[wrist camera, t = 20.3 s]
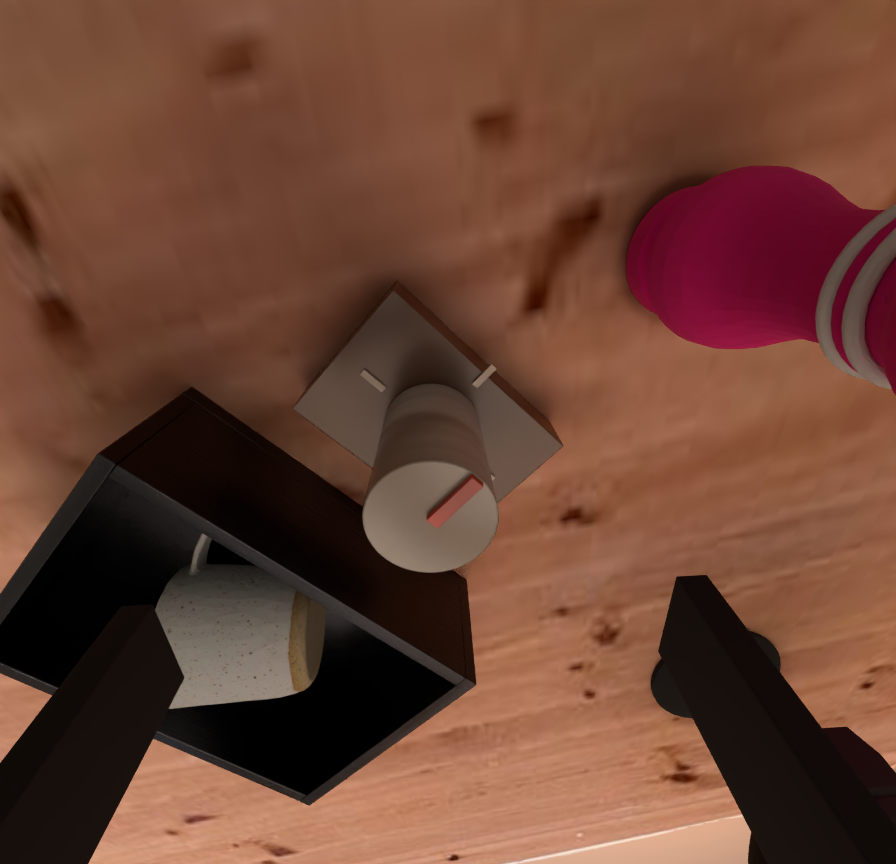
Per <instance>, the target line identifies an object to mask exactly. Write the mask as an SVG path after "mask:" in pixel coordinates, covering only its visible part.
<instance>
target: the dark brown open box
mask: <svg viewBox="0 0 896 864" xmlns="http://www.w3.org/2000/svg"><path fill="white" fill-rule="evenodd" d="M362 513H363V507H361V506H360V505H358V504H357V503H356V502H354V501H353V500H351V499H350V498H348V497H347V496H346V495H344V494H343V493H341V492H340V491H339V490H337V489H336V488H334V487H333V486H331V485H330V484H329V483H327V482H326V481H324V480H323V479H321V478H320V477H319V476H317V475H316V474H314V473H313V472H312V471H310V470H309V469H307V468H306V467H304V466H303V465H302V464H300V463H299V462H297V461H296V460H294V459H293V458H292V457H290V456H289V455H287V454H286V453H285V452H283V451H282V450H280V449H279V448H277V447H276V446H275V445H273V444H272V443H270V442H269V441H268V440H266V439H265V438H263V437H262V436H260V435H259V434H258V433H256V432H255V431H253V430H252V429H250V428H249V427H248V426H246V425H245V424H243V423H242V422H241V421H239V420H238V419H236V418H235V417H233V416H232V415H231V414H229V413H228V412H226V411H225V410H224V409H222V408H221V407H219V406H218V405H216V404H215V403H214V402H212V401H211V400H209V399H208V398H206V397H205V396H204V395H202V394H201V393H199V392H198V391H197V390H195V389H194V388H192V387H190V388H189V389H188V390H186V391H185V392H183V393H182V394H181V395H179V396H178V397H177V398H175V399H174V400H172V401H171V402H170V403H168V404H167V405H165V406H164V407H163V408H161V409H160V410H158V411H157V412H156V413H154V414H153V415H151V416H150V417H149V418H147V419H146V420H144V421H143V422H142V423H140V424H139V425H137V426H136V427H135V428H133V429H132V430H130V431H129V432H128V433H126V434H125V435H123V436H122V437H121V438H119V439H118V440H116V441H115V442H113V443H112V444H111V445H109V446H108V447H106V448H105V449H104V450H102V451H101V452H99V453H98V454H97V455H96V457H95V458H94V460H93V461H92V463H91V464H90V466H89V467H88V468H87V470H86V471H85V473H84V474H83V476H82V477H81V478H80V480H79V481H78V483H77V484H76V486H75V487H74V489H73V490H72V491H71V493H70V494H69V496H68V497H67V499H66V500H65V501H64V503H63V504H62V506H61V507H60V509H59V510H58V512H57V513H56V514H55V516H54V517H53V519H52V520H51V522H50V523H49V524H48V526H47V527H46V529H45V530H44V532H43V533H42V534H41V536H40V537H39V539H38V540H37V542H36V543H35V545H34V546H33V547H32V549H31V550H30V552H29V553H28V555H27V556H26V557H25V559H24V560H23V562H22V563H21V565H20V566H19V568H18V569H17V570H16V572H15V573H14V575H13V576H12V578H11V579H10V580H9V582H8V583H7V585H6V586H5V588H4V589H3V591H2V592H1V593H0V673H1V674H3V675H6V676H8V677H10V678H13V679H15V680H17V681H20V682H22V683H24V684H27V685H29V686H31V687H34V688H36V689H38V690H41V691H43V692H45V693H48V694H50V695H53V694H54V693H55V692H56V690H57V689H58V688H59V686H60V685H61V684H62V682H63V681H64V680H65V679H66V677H67V676H68V675H69V673H70V672H71V671H72V669H73V668H74V667H75V666H76V664H77V663H78V662H79V660H80V659H81V658H82V657H83V655H84V654H85V653H86V651H87V650H88V649H89V647H90V646H91V645H92V644H93V642H94V641H95V640H96V638H97V637H98V636H99V634H100V633H101V632H102V631H103V629H104V628H105V627H106V625H107V624H108V623H109V622H110V620H111V619H112V618H113V616H114V615H115V614H116V612H117V611H118V610H119V609H120V607H121V606H133V605H152V604H153V606H154V609H156V606H157V604H158V601H159V599H160V597H161V595H162V593H163V591H164V589H165V587H166V585H167V583H168V582H169V581H170V580H171V578H172V577H173V576H174V575H175V574H176V573H177V572H178V571H179V570H180V569H182V568H184V567H185V566H188V565H191V563H192V557H193V553H194V550H195V547H196V545H197V543H198V540H199V538H200V536H201V534H204V535H206V536H207V537H209V538H211V539H212V540H211V543H210V546H209V550H208V554H207V559H206V560H207V564H232V565H252V566H258V567H259V568H261V569H263V570H264V571H266V572H268V573H269V574H271V575H273V576H274V577H276V578H278V579H279V580H281V581H283V582H284V583H286V584H288V585H289V586H291V587H293V588H294V589H296V590H298V591H299V592H301V593H303V594H304V595H306V596H308V597H309V598H311V599H313V600H314V601H316V602H318V603H319V604H321V605H323V606H324V607H325V634H324V644H323V652H322V657H321V662H320V666H319V669H318V673H317V675H316V678H315V679H314V681H313V682H312V683H311V685H310V686H309V687H308V688H307V689H305V690H304V691H301V692H298V693H295V694H292V695H288V696H284V697H280V698H272V699H263V700H251V701H241V702H232V703H224V704H213V705H200V706H191V707H182V708H174V709H168V711H167V713H166V715H165V717H164V719H163V720H162V722H161V724H160V726H159V728H158V730H157V732H156V734H155V736H154V738H153V739H155V740H158V741H160V742H162V743H165V744H167V745H169V746H172V747H174V748H176V749H179V750H181V751H184V752H186V753H188V754H191V755H193V756H195V757H198V758H200V759H202V760H205V761H207V762H209V763H212V764H214V765H216V766H219V767H221V768H223V769H226V770H228V771H230V772H233V773H235V774H237V775H240V776H242V777H244V778H247V779H249V780H251V781H254V782H256V783H258V784H261V785H263V786H265V787H268V788H270V789H272V790H275V791H277V792H279V793H282V794H284V795H286V796H289V797H291V798H294V799H296V800H298V801H299V800H300V802H302V803H304V804H307V805H311V804H312V803H314V802H315V801H316V800H318V799H319V798H321V797H322V796H323V795H325V794H326V793H327V792H329V791H330V790H332V789H333V788H334V787H336V786H337V785H339V784H340V783H341V782H343V781H344V780H345V779H347V778H348V777H350V776H351V775H352V774H354V773H355V772H357V771H358V770H359V769H361V768H362V767H363V766H365V765H366V764H368V763H369V762H370V761H372V760H373V759H375V758H376V757H377V756H379V755H380V754H381V753H383V752H384V751H386V750H387V749H388V748H390V747H391V746H393V745H394V744H395V743H397V742H398V741H399V740H401V739H402V738H404V737H405V736H406V735H408V734H409V733H411V732H412V731H413V730H415V729H416V728H417V727H419V726H420V725H422V724H423V723H424V722H426V721H427V720H429V719H430V718H431V717H433V716H434V715H435V714H437V713H438V712H440V711H441V710H442V709H444V708H445V707H447V706H448V705H449V704H451V703H452V702H453V701H455V700H456V699H458V698H459V697H460V696H462V695H463V694H465V693H466V692H467V691H469V690H470V689H471V688H473V687H474V686H476V676H475V665H474V654H473V643H472V632H471V622H470V611H469V600H468V590H467V581H466V580H465V579H463V578H462V577H461V576H459V575H458V574H456V573H455V572H454V571H452V570H448V571H443V572H427V573H426V572H417V571H412V570H408V569H405V568H402V567H400V566H397V565H395V564H393V563H392V562H390V561H388V560H387V559H385V558H384V557H383V556H381V555H380V554H379V553H378V552H377V551H376V550H375V548H374V547H373V546H372V544H371V543H370V541H369V539H368V538H367V535H366V533H365V530H364V526H363V519H362Z"/></svg>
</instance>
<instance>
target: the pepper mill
mask: <svg viewBox="0 0 896 864" xmlns="http://www.w3.org/2000/svg"><path fill="white" fill-rule="evenodd" d="M626 273H627V279H628V283H629V286H630V288H631V291H632V293H633V294H634V296H635V297H636V299H637V300H638V301H639V303H640V304H641V305H643V306H644V307H645V308H646V309H648V310H649V311H651V312H653V313H655V314H657V315H658V317H659V319H660V320H661V321H662V322H663V323H664V324H665V325H666V326H667V327H668V328H669V329H670V330H671V331H672V332H674V333H675V334H676V335H678V336H680V337H682V338H684V339H686V340H688V341H691V342H694V343H697V344H701V345H704V346H708V347H712V348H718V349H746V348H757V347H762V346H766V345H771V344H775V343H780V342H784V341H790V340H796V339H804V340H808V341H812V342H816V343H819V344H820V347H821V349H822V351H823V353H824V354H825V356H826V357H827V358H828V360H829V361H830V362H831V363H832V364H833V365H834V366H836V367H837V368H838V369H840V370H841V371H842V372H844V373H846V374H848V375H851V376H854V377H857V378H862V379H866V380H868V381H869V382H871V383H872V384H875V385H878V386H880V387H883V388H886V389H892V390H893V392H894V393H895V395H896V204H894V205H892V206H890V207H889V208H888V209H886V210H867V209H861V208H859V207H857V206H856V205H854V204H853V203H851V202H850V201H848V200H847V199H846V198H845V197H844V196H843V195H841V194H840V193H839V192H838V191H837V190H836V189H835V188H833V187H832V186H831V185H830V184H828V183H826V182H825V181H823V180H821V179H819V178H817V177H815V176H813V175H810V174H807V173H804V172H801V171H798V170H796V169H793V168H790V167H780V166H749V167H742V168H737V169H734V170H731V171H728V172H725V173H722V174H720V175H718V176H715V177H713V178H711V179H710V180H708V181H706V182H705V183H703V184H701V185H700V186H693V187H687V188H684V189H681V190H678V191H676V192H674V193H672V194H670V195H668V196H667V197H665V198H663V199H662V200H661V201H659V202H658V203H657V204H656V205H654V206H653V207H652V208H651V209H650V210H649V211H648V213H647V214H646V215H645V216H644V217H643V219H642V220H641V222H640V223H639V225H638V226H637V228H636V230H635V232H634V234H633V237H632V239H631V242H630V244H629V248H628V253H627V258H626Z"/></svg>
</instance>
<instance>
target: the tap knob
mask: <svg viewBox="0 0 896 864" xmlns="http://www.w3.org/2000/svg"><path fill="white" fill-rule="evenodd" d="M362 519H363V526H364V530H365V533H366V535H367V538H368V539H369V541H370V543H371V544H372V546H373V547H374V548H375V550H376V551H377V552H378V553H379V554H380V555H381V556H383V557H384V558H385V559H387V560H388V561H390V562H392V563H393V564H395V565H397V566H400V567H402V568H405V569H408V570H412V571H417V572H426V573H427V572H443V571H448V570H452V569H455V568H459V567H461V566H463V565H465V564H467V563H469V562H471V561H472V560H474V559H475V558H477V557H478V556H479V555H480V554H481V553H482V552H483V551H484V550H485V549H486V548H487V547H488V546H489V544H490V543H491V541H492V539H493V538H494V535H495V533H496V530H497V526H498V521H499V510H498V504H497V500H496V495H495V491H494V486H493V482H492V477H491V473H490V468H489V464H488V459H487V455H486V450H485V446H484V441H483V437H482V432H481V428H480V423H479V419H478V415H477V412H476V410H475V408H474V406H473V405H472V403H471V402H470V401H469V400H468V399H467V398H466V397H465V396H464V395H463V394H462V393H460V392H459V391H457V390H455V389H453V388H451V387H449V386H445V385H441V384H422V385H417V386H414V387H412V388H409V389H407V390H406V391H404V392H402V393H401V394H400V395H398V396H397V397H396V398H395V399H394V400H393V402H392V403H391V404H390V406H389V408H388V409H387V412H386V414H385V418H384V422H383V426H382V431H381V435H380V439H379V443H378V447H377V452H376V456H375V460H374V464H373V468H372V473H371V477H370V481H369V485H368V489H367V493H366V498H365V502H364V506H363V513H362Z"/></svg>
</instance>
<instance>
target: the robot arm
mask: <svg viewBox="0 0 896 864" xmlns="http://www.w3.org/2000/svg"><path fill="white" fill-rule="evenodd" d="M658 652H659V654H660V656H661V658H662V660H663V662H664V663H665V665H666V667H667V669H668V671H669V673H670V675H671V677H672V679H673V681H674V683H675V685H676V687H677V689H678V691H679V693H680V695H681V696H682V698H683V700H684V702H685V704H686V706H687V708H688V710H689V712H690V714H691V716H692V718H693V720H694V722H695V724H696V726H697V727H698V729H699V731H700V733H701V735H702V737H703V739H704V741H705V743H706V745H707V747H708V749H709V751H710V753H711V755H712V757H713V759H714V760H715V762H716V764H717V766H718V768H719V770H720V772H721V774H722V776H723V778H724V780H725V782H726V784H727V786H728V788H729V790H730V791H731V793H732V795H733V797H734V799H735V801H736V803H737V805H738V807H739V809H740V811H741V813H742V815H743V817H744V818H745V821H746V823H747V824H748V826H749V828H750V830H751V832H752V834H753V836H754V838H755V840H756V842H757V844H758V846H759V848H760V850H761V852H762V854H763V855H764V857H765V859H766V861H767V863H768V864H896V773H895V771H894V770H893V769H892V768H891V767H890V765H889V764H888V763H887V762H886V761H885V759H884V758H883V757H882V756H881V755H880V754H879V753H878V752H877V751H876V750H874V749H873V748H872V747H871V746H870V745H868V744H867V743H866V742H865V741H863V740H862V739H861V738H860V737H859V736H857V735H856V734H855V733H854V732H852V731H851V730H850V729H849V728H848V727H835V728H821V726H820V725H819V724H818V722H817V721H816V720H815V718H814V717H813V716H812V714H811V713H810V712H809V710H808V709H807V708H806V706H805V705H804V704H803V702H802V701H801V700H800V698H799V697H798V696H797V694H796V693H795V692H794V690H793V689H792V688H791V687H790V685H789V684H788V683H787V681H786V680H785V679H784V677H783V676H782V675H781V673H780V672H779V671H778V669H777V668H776V667H775V665H774V664H773V663H772V661H771V660H770V659H769V657H768V656H767V655H766V653H765V652H764V651H763V649H762V648H761V647H760V645H759V644H758V643H757V641H756V640H755V639H754V637H753V636H752V635H751V633H750V632H749V631H748V629H747V628H746V627H745V625H744V624H743V623H742V621H741V620H740V619H739V618H738V616H737V615H736V614H735V612H734V611H733V610H732V608H731V607H730V606H729V604H728V603H727V602H726V600H725V599H724V598H723V596H722V595H721V594H720V592H719V591H718V590H717V588H716V587H715V586H714V584H713V583H712V582H711V580H710V579H709V578H708V576H707V575H698V576H680V577H676V581H675V585H674V589H673V593H672V597H671V601H670V605H669V610H668V614H667V618H666V622H665V626H664V630H663V634H662V638H661V642H660V646H659V650H658ZM184 678H185V677H184V675H183V673H182V670H181V668H180V666H179V664H178V661H177V659H176V657H175V654H174V652H173V650H172V648H171V645H170V643H169V641H168V638H167V636H166V634H165V632H164V629H163V627H162V625H161V622H160V620H159V618H158V616H157V613H156V611H155V609H154V606H153V604H152V605H133V606H121V607H120V609H119V610H118V611H117V612H116V614H115V615H114V616H113V618H112V619H111V620H110V622H109V623H108V624H107V625H106V627H105V628H104V629H103V631H102V632H101V633H100V634H99V636H98V637H97V638H96V640H95V641H94V642H93V644H92V645H91V646H90V647H89V649H88V650H87V651H86V653H85V654H84V655H83V657H82V658H81V659H80V660H79V662H78V663H77V664H76V666H75V667H74V668H73V669H72V671H71V672H70V673H69V675H68V676H67V677H66V679H65V680H64V681H63V682H62V684H61V685H60V686H59V688H58V689H57V690H56V692H55V693H54V694H53V695H52V697H51V698H50V699H49V701H48V702H47V703H46V704H45V706H44V707H43V708H42V710H41V711H40V712H39V714H38V715H37V716H36V717H35V719H34V720H33V721H32V723H31V724H30V725H29V727H28V728H27V729H26V730H25V732H24V733H23V734H22V736H21V737H20V738H19V739H18V741H17V742H16V743H15V745H14V746H13V747H12V749H11V750H10V751H9V752H8V754H7V755H6V756H5V758H4V759H3V760H2V762H1V763H0V864H88V863H89V861H90V859H91V857H92V855H93V853H94V851H95V849H96V848H97V846H98V844H99V842H100V840H101V838H102V836H103V834H104V832H105V830H106V828H107V826H108V824H109V822H110V821H111V819H112V817H113V815H114V813H115V811H116V809H117V807H118V805H119V803H120V801H121V799H122V797H123V796H124V794H125V792H126V790H127V788H128V786H129V784H130V782H131V780H132V778H133V776H134V774H135V772H136V771H137V769H138V767H139V765H140V763H141V761H142V759H143V757H144V755H145V753H146V751H147V749H148V747H149V745H150V744H151V742H152V740H153V738H154V736H155V734H156V732H157V730H158V728H159V726H160V724H161V722H162V720H163V719H164V717H165V715H166V713H167V711H168V709H169V707H170V705H171V703H172V701H173V699H174V697H175V695H176V693H177V692H178V690H179V688H180V686H181V684H182V682H183V680H184Z"/></svg>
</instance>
